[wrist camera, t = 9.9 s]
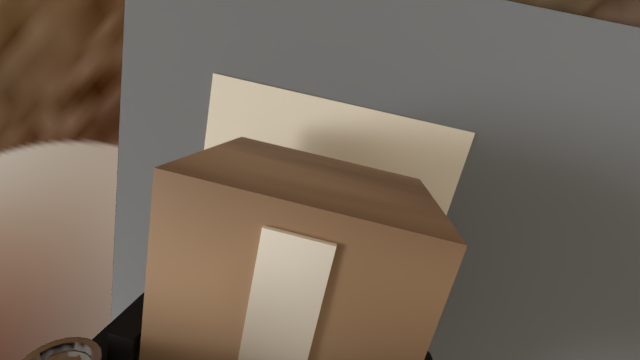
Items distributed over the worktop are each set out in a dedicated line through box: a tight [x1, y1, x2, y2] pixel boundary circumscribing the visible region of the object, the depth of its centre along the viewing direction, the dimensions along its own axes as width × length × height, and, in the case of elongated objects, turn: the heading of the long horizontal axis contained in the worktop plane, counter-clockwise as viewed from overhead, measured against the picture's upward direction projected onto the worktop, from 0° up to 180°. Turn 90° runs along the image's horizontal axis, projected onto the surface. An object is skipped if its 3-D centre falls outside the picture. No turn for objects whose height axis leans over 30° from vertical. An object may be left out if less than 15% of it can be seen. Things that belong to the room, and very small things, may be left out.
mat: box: [111, 0, 640, 360], centre depth 11 cm, size 24×18×1 cm
